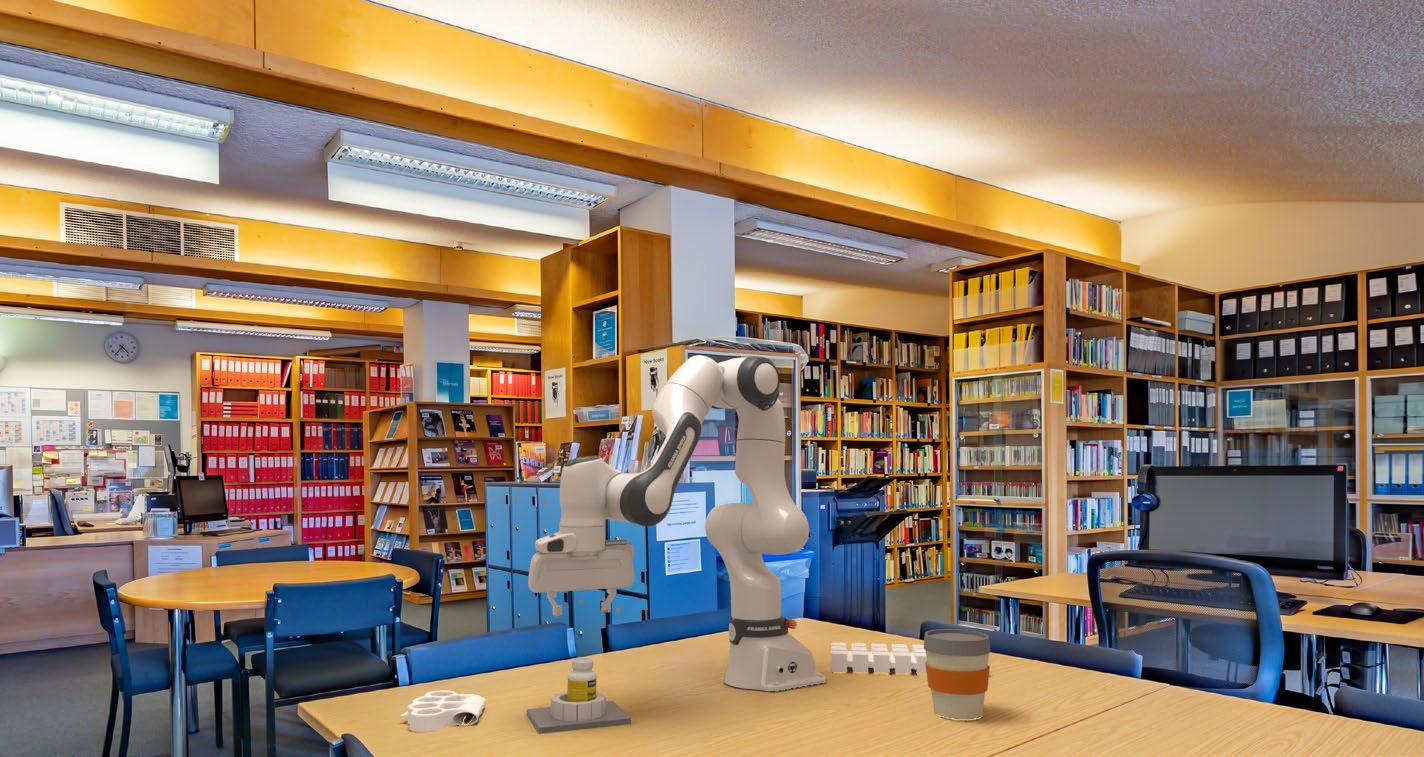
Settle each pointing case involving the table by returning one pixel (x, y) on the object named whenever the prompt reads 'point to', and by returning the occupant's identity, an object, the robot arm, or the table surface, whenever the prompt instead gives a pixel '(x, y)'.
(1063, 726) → the table surface
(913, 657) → the organizer
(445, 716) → the white multi-hole bracket
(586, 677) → the supplement bottle
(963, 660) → the reusable coffee cup
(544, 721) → the mount plate
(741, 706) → the table surface
